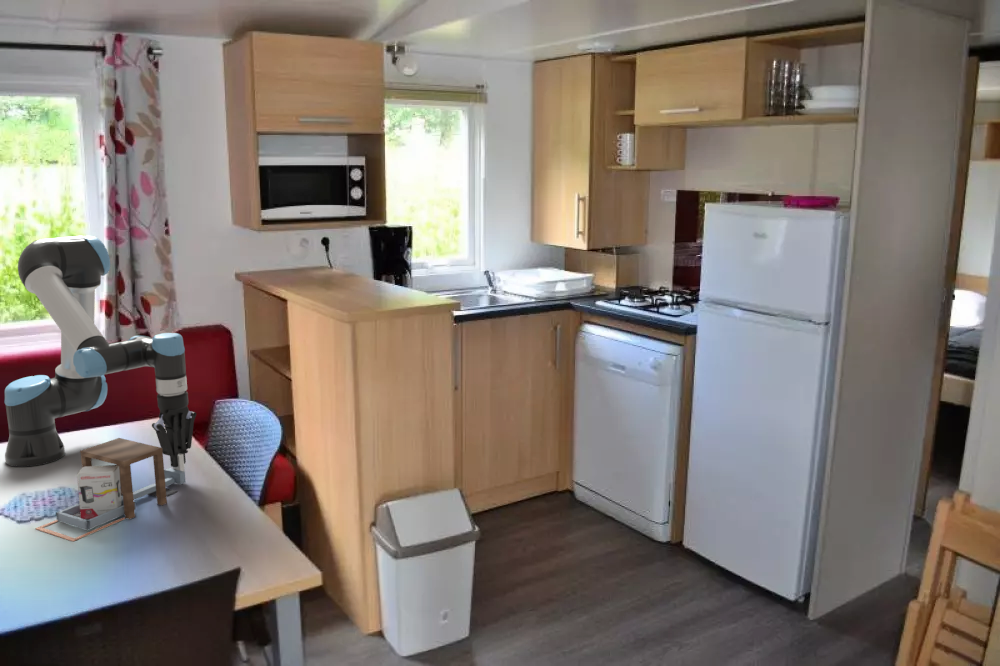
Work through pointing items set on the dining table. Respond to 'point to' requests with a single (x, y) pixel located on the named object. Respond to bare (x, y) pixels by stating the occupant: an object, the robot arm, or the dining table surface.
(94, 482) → the ink box
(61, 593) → the dining table surface
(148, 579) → the dining table surface
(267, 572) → the dining table surface
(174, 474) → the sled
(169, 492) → the pad
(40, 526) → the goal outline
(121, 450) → the tunnel frame
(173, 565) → the dining table surface
